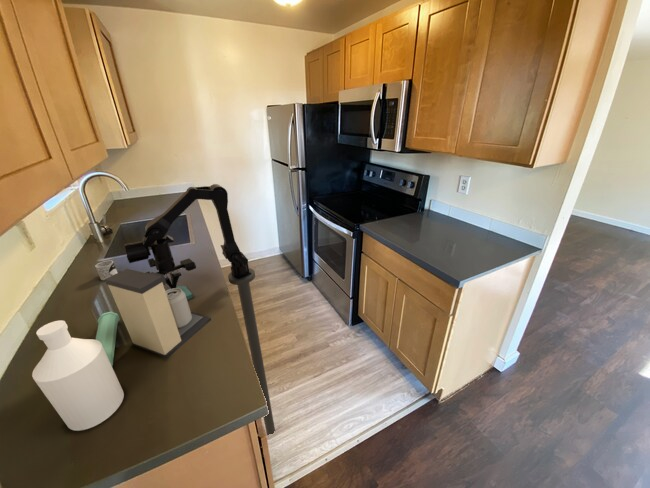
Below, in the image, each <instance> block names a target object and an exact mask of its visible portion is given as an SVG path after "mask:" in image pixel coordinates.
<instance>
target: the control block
mask: <svg viewBox="0 0 650 488" xmlns="http://www.w3.org/2000/svg"><path fill="white" fill-rule="evenodd" d="M176 288H179V289H181V290H182V291H183V292H185V295H186V298H187V301H188V300H191V299H193V298H194V295H193V293H192V292H191V291H190V289H189V288H188V287H187V286H186V285H182V286H180V285H176ZM169 289H171V288H170V287H169V288H167V289H165V291H167V290H169Z"/></svg>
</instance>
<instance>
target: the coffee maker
mask: <svg viewBox="0 0 650 488" xmlns="http://www.w3.org/2000/svg"><path fill="white" fill-rule="evenodd" d="M103 281H104V282H105V284H106V285H107V286H108V288H109V291H110V293H111V295H112V297H113V300H114V302H115V304H116V307H117V309H118V312H119V314H120V316H121V319H122V320H123V323H124V326H125V328H126V331H127V333H128V335H129V337H130V340H131V344H132V346H133V347H137V348H139V349H142V350H145V351H147V352H150V353H152V354H155V355H157V356H160V357H163V358H166V359H169V358H170V357H171V356H172V355H173V354H174V353H175V352H177V350H178V349H180V348H181V347H182V346H183V345H184V344H186V343H187V342H188V341H189V340H190V339H191V338H193V337H194V336H195V335H196V334H197V333H198V332H199V331H200V330H202V329H203V328H204V327H205V326H206V325H208V324H209V323H210V322H211V321H212V317H210V316H207V315H204V314H200V313H196V312H193V311H190V312H191V315H192V319H191V321H190V322H189V323H188V324H187V325H186V326H184V327H181V328H177V326H176V322H175V319H174V316H173V313H172V310H171V307H170V304H169V301H168V298H167V295H166V292H165V291H166V289H165V286H164V285H167V284H166V280H165V277H164V275H163V274H158V273H156V272H155V271H154V272H153V271H150V273H149V274H148V273H146V272H143V271H139V270H136V269H131V268H125V269H123V270H121V271H119V272H118V273H117V274H115V275H113V276H111V277H109V278H106V279H104V280H103Z"/></svg>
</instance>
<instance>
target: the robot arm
mask: <svg viewBox="0 0 650 488" xmlns="http://www.w3.org/2000/svg"><path fill="white" fill-rule="evenodd" d="M228 198H229V196H228V190H226V188H224V187H223V186H222V185H220V184H218V183H213V184H211V185H210V186H207V185H204V186H189V187H188V188H187V189H186V190H185V192H183V194H181V196H179V197H178V198H177V199H176V200H175V202H173V203H172V204H171V205H170V206H169V207H168V208H167V209H166V210H165V211H164V212H163V213H161V214H159V215H157V216H155V217H154V218H153V219H151V220H150V221H148V222H147V223H146V225H145V233H144V235H143V237H142V240H140V241H135V242H128V243H125V244H124V249H125V253H126V258H127V261H128V263H129V264H133V263H136V262H137V263H138V262H141V261H146V260H147V262H148V265H149V268H154V267H155V269H156V272H155V273H158V274H163V275H164V277H165V280H166V284H165V285H168V287H169V288H171V289H173V288H176V286H178V285H177V284H178V281H179V279H180V277H181V276H182V273H181V270H184V269H185V271H187V272H191V271H193V270H196V269H197V265H196V263H195V261H194V260H192V259H191V258H189V257H188V258H186V259H182V260H179V264H178V265H176V264H175V259H174V256H173V254H172V250H171V246H170V244H171V243H174V242H175V239H174V238H173V237H172V236H171V235H169V234H168V231H169V230H170V228H171V227H172V224H173V223H174V222H175V221H176V220H177V219H178V218H179V217H180V216H181V215H182V214H183V213H184V212H185V211H186V210H187V209H188V208H189V207H190V206H191V205H192V204H193V203H194V202H195V201H196V200H206V201H211V202H212V204H213V206H214V208H215V210H216V214H217V218H218V222H219V226H220V229H221V233H222V238H223V244H221V245H220V248H221V250H222V255H223V257H224V258H225V259H226V260H227V261H228V262H229V263H230V273H231V272H232V275H233V276H234V277H235V278H237V279H241V278H243V277H246V276H248V275H251V272H249V268H250V266H249V259H248V258H247V257H246V255H245V254H244V253H243V252H242V251H241V250H240V247H239V246H238V243H237V242H236V240H235V235H234V231H233V227H232V223H231V219H230V215H229V210H228V205H229V199H228ZM151 252H152V254H151ZM151 255H153V257H151V258H150V256H151ZM145 273H148V274H149V273H151V271H146V272H145ZM168 275H169V276H170V277H169V276H168Z"/></svg>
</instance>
